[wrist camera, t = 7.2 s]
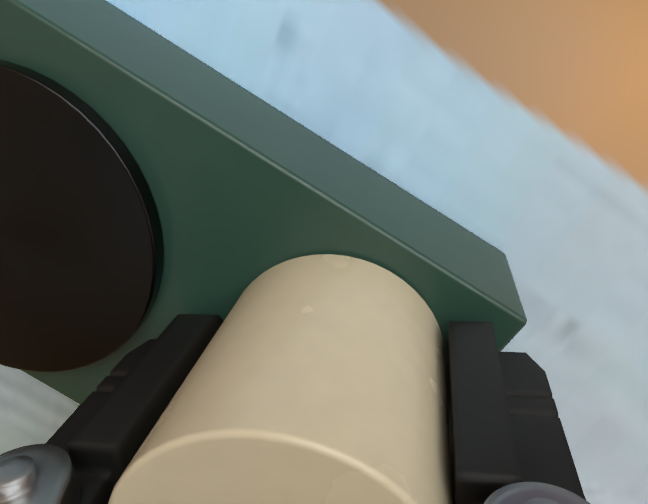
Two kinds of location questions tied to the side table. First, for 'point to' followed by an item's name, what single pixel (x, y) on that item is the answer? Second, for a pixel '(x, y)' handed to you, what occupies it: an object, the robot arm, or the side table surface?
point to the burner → (69, 230)
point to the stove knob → (307, 398)
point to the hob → (242, 182)
